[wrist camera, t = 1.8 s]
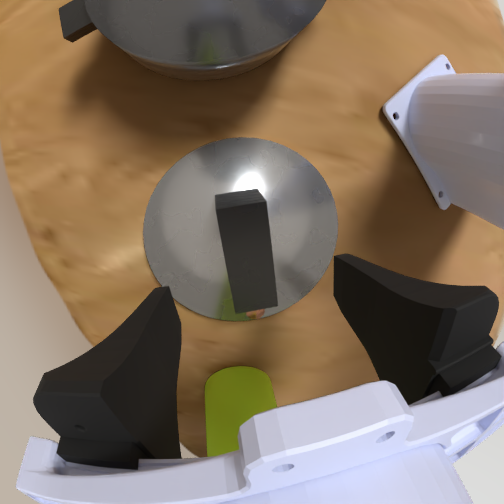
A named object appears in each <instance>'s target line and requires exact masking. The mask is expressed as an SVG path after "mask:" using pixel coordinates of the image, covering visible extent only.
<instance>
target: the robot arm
mask: <svg viewBox="0 0 504 504" xmlns="http://www.w3.org/2000/svg"><path fill="white" fill-rule="evenodd" d="M446 67H447V68H446ZM383 113H384V115H385V116H386V117H387V119H388V120H389V122H390V123H391V125H392V126H393V128H394V129H395V131H396V132H397V134H398V135H399V137H400V138H401V140H402V141H403V143H404V145H405V146H406V148H407V150H408V151H409V153H410V154H411V156H412V158H413V159H414V161H415V163H416V165H417V166H418V168H419V170H420V172H421V173H422V175H423V177H424V179H425V181H426V183H427V184H428V186H429V188H430V190H431V192H432V194H433V196H434V198H435V200H436V202H437V204H438V206H439V208H440V209H443V210H446V209H447V208H448V207H449V206H450V204H451V203H452V204H454V205H456V206H458V207H460V208H463V209H465V210H467V211H469V212H471V213H473V214H475V215H477V216H479V217H481V218H482V219H484V220H486V221H488V222H490V223H492V224H494V225H496V226H497V227H499V228H502V229H504V73H464V74H456V73H455V71H454V69H453V67H452V66H451V64H450V62H449V61H448V59H447V58H446V56H444V55H438V56H437V57H436V58H435V59H434V60H432V61H431V62H430V63H429V64H428V65H427V66H426V67H425V68H423V69H422V70H421V71H420V72H419V73H418V74H417V75H416V76H415V77H413V78H412V79H411V80H410V81H409V82H408V83H407V84H406V85H405V86H404V87H402V88H401V89H400V90H399V91H398V92H397V93H396V94H395V95H394V96H393V97H392V98H390V99H389V100H388V101H387V102H386V103H385V104H384V105H383ZM393 113H395V115H396V118H395V119H394V118H393ZM439 192H440V195H439ZM334 297H335V299H336V302H337V304H338V306H339V308H340V310H341V312H342V314H343V315H344V317H345V318H346V320H347V321H348V323H349V324H350V326H351V327H352V329H353V331H354V332H355V334H356V335H357V337H358V338H359V340H360V341H361V343H362V344H363V346H364V348H365V349H366V351H367V353H368V355H369V357H370V359H371V361H372V363H373V365H374V368H375V370H376V372H377V374H378V377H379V379H380V381H376V382H370V383H365V384H362V385H359V386H356V387H353V388H350V389H346V390H343V391H340V392H336V393H333V394H329V395H326V396H322V397H318V398H315V399H311V400H307V401H303V402H298V403H294V404H290V405H285V406H281V407H276V408H273V409H270V410H267V411H264V412H261V413H258V414H255V415H254V416H253V417H251V418H250V419H249V420H247V421H246V422H245V423H243V424H242V425H241V426H240V428H239V433H238V443H239V450H236V451H232V452H229V453H225V454H222V455H218V456H213V457H201V458H185V459H182V458H181V452H180V443H179V433H178V421H177V399H176V389H177V377H178V368H179V360H180V351H181V321H180V319H179V316H178V313H177V310H176V306H175V303H174V300H173V297H172V294H171V291H170V288H169V286H164V287H158V288H155V289H154V290H153V291H152V292H151V293H150V294H149V295H148V296H147V297H146V299H145V300H144V301H143V302H142V303H141V304H140V305H139V306H138V308H137V309H136V310H135V311H134V312H133V313H132V314H131V315H130V316H129V317H128V318H127V319H126V320H125V321H124V322H123V323H122V324H121V325H120V326H119V327H118V328H117V329H116V330H115V331H114V332H113V333H112V334H110V335H109V336H108V337H107V338H106V339H104V340H103V341H102V342H100V343H99V344H97V345H96V346H95V347H93V348H92V349H90V350H89V351H88V352H86V353H84V354H83V355H81V356H79V357H78V358H76V359H74V360H72V361H70V362H69V363H67V364H65V365H62V366H60V367H58V368H56V369H54V370H51V371H49V372H46V373H44V375H43V377H42V379H41V381H40V384H39V386H38V388H37V390H36V393H35V395H34V398H33V403H34V405H35V408H36V410H37V412H38V413H39V414H40V416H41V417H42V418H43V419H44V420H45V421H46V422H47V423H48V424H49V425H50V426H51V427H52V428H53V429H54V430H55V431H56V432H57V433H58V434H59V435H60V436H61V437H60V441H59V444H58V443H57V442H55V441H52V440H50V439H44V438H40V437H34V436H30V438H29V441H28V444H27V447H26V451H25V454H24V457H23V461H22V464H21V468H20V471H19V475H18V479H17V484H16V488H17V489H18V490H19V491H21V492H22V493H24V494H25V495H27V496H29V497H30V498H32V499H33V500H35V501H37V502H38V503H40V504H473V502H472V500H471V498H470V496H469V494H468V492H467V490H466V489H465V486H464V485H463V483H462V481H461V479H460V477H459V475H458V474H457V472H456V470H455V468H454V466H453V465H452V464H453V463H454V462H456V461H457V460H459V459H460V458H461V457H463V456H464V455H466V454H467V453H468V452H470V451H471V450H472V449H474V448H475V447H476V446H478V445H479V444H480V443H481V442H482V441H484V440H485V439H486V438H488V437H489V436H490V435H491V434H492V433H494V432H495V431H496V430H497V429H498V428H499V427H501V426H502V425H503V424H504V342H502V343H501V344H500V345H499V346H498V347H497V348H496V350H495V349H494V348H493V346H492V345H491V344H492V343H493V339H492V338H491V337H490V336H489V333H490V331H491V328H492V326H493V323H494V321H495V318H496V315H497V312H498V307H499V300H498V297H497V295H496V294H495V293H494V292H492V291H491V290H490V289H489V288H487V287H486V286H457V285H446V284H439V283H433V282H428V281H423V280H419V279H415V278H411V277H408V276H404V275H401V274H398V273H396V272H393V271H390V270H387V269H385V268H382V267H380V266H377V265H375V264H373V263H370V262H368V261H365V260H363V259H361V258H358V257H356V256H353V255H350V254H341V255H336V256H334Z"/></svg>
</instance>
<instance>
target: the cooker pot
mask: <svg viewBox="0 0 504 504" xmlns="http://www.w3.org/2000/svg"><path fill="white" fill-rule="evenodd" d="M325 2H326V0H72V1H71V2H69V3H67V4H66V5H64V6H62V7H61V8H59V15H60V21H61V27H62V32H63V37H64V39H66V40H68V41H70V42H72V43H73V42H74V41H76V40H78V39H80V38H81V37H83V36H85V35H87V34H89V33H91V32H92V31H94V30H96V29H98V30H99V31H100V32H101V33H102V34H103V35H104V36H106V37H107V38H108V39H109V40H110V41H112V42H113V43H114V44H116V45H117V46H118V47H119V48H121V49H122V50H123V51H124V52H126V53H127V54H128V55H129V56H131V57H132V58H133V59H134V60H136V61H137V62H138V63H140V64H141V65H143V66H144V67H146V68H147V69H149V70H151V71H154V72H156V73H158V74H161V75H164V76H167V77H170V78H176V79H181V80H191V81H210V80H218V79H224V78H229V77H233V76H236V75H240V74H243V73H246V72H248V71H250V70H252V69H255V68H257V67H259V66H260V65H262V64H264V63H266V62H267V61H269V60H270V59H271V58H273V57H274V56H275V55H277V54H278V53H279V52H280V51H281V50H282V49H283V48H284V47H285V46H286V45H287V44H288V43H289V42H290V41H291V40H292V39H293V38H294V37H295V36H296V35H297V34H298V33H299V32H300V31H301V30H302V29H303V28H304V27H305V26H306V25H308V24H309V23H310V22H311V21H312V20H313V19H314V18H315V16H316V15H317V14H318V13H319V11H320V10H321V9H322V7H323V5H324V4H325Z"/></svg>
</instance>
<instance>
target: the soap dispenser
mask: <svg viewBox="0 0 504 504" xmlns="http://www.w3.org/2000/svg"><path fill="white" fill-rule="evenodd" d="M276 407H277V404H276V400H275V396H274V392H273V388H272V384H271V380H270V378H269V376H268V375H267V374H266V373H264V372H263V371H261V370H259V369H257V368H253V367H247V366H236V367H229V368H225V369H222V370H220V371H218V372H216V373H214V374H213V375H212V376H211V377H209V379H208V380H207V382H206V384H205V416H206V440H207V457H213V456H218V455H222V454H225V453H229V452H232V451H236V450H239V443H238V433H239V428H240V426H241V425H242V424H243V423H245V422H246V421H247V420H249V419H250V418H251V417H253V416H254V415H255V414H258V413H261V412H264V411H267V410H270V409H273V408H276Z"/></svg>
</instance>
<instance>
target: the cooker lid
mask: <svg viewBox="0 0 504 504" xmlns="http://www.w3.org/2000/svg"><path fill="white" fill-rule="evenodd" d="M337 235H338V218H337V211H336V206H335V202H334V199H333V196H332V194H331V191H330V189H329V187H328V185H327V184H326V182H325V180H324V178H323V177H322V176H321V175H320V173H319V172H318V171H317V169H316V168H315V167H314V166H313V165H312V164H311V163H310V162H309V161H308V160H306V159H305V158H304V157H302V156H301V155H299V154H298V153H297V152H295V151H293V150H291V149H289V148H287V147H285V146H283V145H280V144H278V143H275V142H272V141H268V140H263V139H258V138H248V137H238V138H227V139H223V140H218V141H214V142H211V143H209V144H206V145H203V146H201V147H199V148H197V149H195V150H193V151H192V152H190V153H188V154H187V155H185V156H184V157H183V158H181V159H180V160H179V161H177V162H176V163H175V164H174V165H173V166H172V167H171V168H170V169H169V170H168V171H167V172H166V174H165V175H164V176H163V178H162V179H161V180H160V182H159V183H158V184H157V186H156V188H155V190H154V192H153V194H152V195H151V198H150V201H149V203H148V206H147V209H146V214H145V219H144V229H143V237H144V247H145V252H146V256H147V259H148V262H149V264H150V267H151V269H152V271H153V273H154V275H155V277H156V279H157V280H158V281H159V283H160V284H161V285H162V287H164V286H169V288H170V291H171V294H172V297H173V298H174V299H175V300H177V301H178V302H179V303H180V304H182V305H184V306H185V307H187V308H188V309H190V310H192V311H194V312H197V313H199V314H201V315H204V316H207V317H210V318H215V319H220V320H228V321H247V320H255V319H259V318H264V317H267V316H270V315H273V314H276V313H278V312H280V311H282V310H284V309H287V308H288V307H290V306H292V305H293V304H295V303H296V302H298V301H299V300H300V299H302V298H303V297H304V296H305V295H307V294H308V293H309V292H310V291H311V290H312V289H313V288H314V286H315V285H316V284H317V283H318V281H319V280H320V279H321V278H322V276H323V274H324V273H325V271H326V269H327V268H328V266H329V263H330V261H331V259H332V256H333V253H334V250H335V247H336V241H337Z"/></svg>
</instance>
